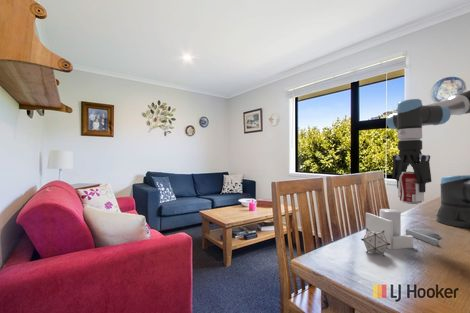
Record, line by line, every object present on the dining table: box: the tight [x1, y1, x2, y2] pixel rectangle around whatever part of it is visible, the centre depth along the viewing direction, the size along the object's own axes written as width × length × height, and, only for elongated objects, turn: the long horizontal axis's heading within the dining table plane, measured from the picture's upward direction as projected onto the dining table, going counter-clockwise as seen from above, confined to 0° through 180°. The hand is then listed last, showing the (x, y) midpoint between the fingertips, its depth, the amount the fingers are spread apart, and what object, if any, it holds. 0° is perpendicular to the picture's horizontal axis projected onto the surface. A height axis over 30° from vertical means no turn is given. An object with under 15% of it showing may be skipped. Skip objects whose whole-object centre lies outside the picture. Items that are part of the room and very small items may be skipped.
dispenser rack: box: [365, 208, 439, 250], centre depth 86 cm, size 20×12×12 cm, turn 99°
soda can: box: [399, 171, 423, 205], centre depth 86 cm, size 7×7×12 cm
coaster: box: [411, 229, 441, 240], centre depth 91 cm, size 9×9×1 cm
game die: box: [360, 227, 390, 257], centre depth 75 cm, size 9×8×10 cm
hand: (410, 198), depth 86 cm, fingers closed on soda can, 7 cm apart
